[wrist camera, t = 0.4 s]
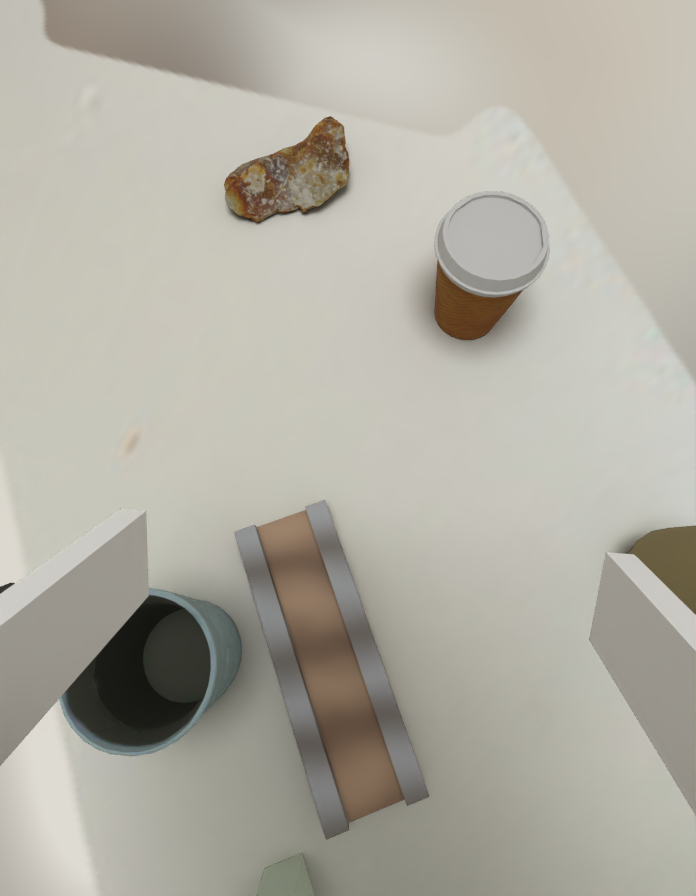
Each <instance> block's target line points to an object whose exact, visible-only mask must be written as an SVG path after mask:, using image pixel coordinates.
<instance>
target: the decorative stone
mask: <svg viewBox="0 0 696 896" xmlns="http://www.w3.org/2000/svg"><path fill="white" fill-rule="evenodd" d="M348 179H349V157H348V151H347V150H346V148H345V135H344V126H343V125H342V124H341V123H339V122H338V121H337V120H335V119H334V118H333V117H331V116H330V117H326V118H324V119H323V120H322V121H321V122H319V123H318V124H317V125H316V126H315V127H314V128H313V130H312V131H311V133H310V134H309V136H308V137H307V138H306V139H305V140H304V141H302V142H300V143H298V144H297V145H295V146H292V147H288V148H284V149H282V150H280V151H278V152H276V153H274V154H271V155H268V156H265V157H261V158H258V159H255V160H252V161H250V162H247V163H245V164H242V165H241V166H239V167H238V168H237V169H236V170H235V171H233V172H232V173H230V174H229V176H228V177H227V178H226V180H225V184H224V187H225V190H226V196H225V199H226V202H227V205H228V207H229V208H230V209H231V210H232V211H234V212H235V213H236V214H237V215H239V216H244V217H246V218H251V219H252V220H254V221H255V222H261V221H262V220H264V219H265V218H266V217H268V216H271V215H273V214H275V213H277V212H289V211H292V210H296V209H298V208H300V209H301V212H306V211H307V210H309V209H311V208H314V207H318V206H320V205H322V204H323V203H324V202H325V201H326V200H328V199H329V198H330V197H331V196H332V195H333V194H334V193H335V192H336V191H338V190H339V189H341V188H343V187H344V186H345V185H346V184H347V182H348Z"/></svg>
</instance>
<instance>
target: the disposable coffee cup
mask: <svg viewBox="0 0 696 896" xmlns="http://www.w3.org/2000/svg"><path fill="white" fill-rule="evenodd" d="M434 247H435V253H436V256H437V259H438V263H437V281H436V297H435V318H436V321H437V323H438V325H439V326H440V327H441V329H442V330H443V331H444V332H446V333H447V334H449V335H450V336H452V337H454V338H457V339H462V340H473V339H477V338H480V337H482V336H484V335H485V334H487V333H488V332H489V331H490V330H491V329H492V327H493V326H494V325H495V324H496V322H497V321H498V320H499V319H500V317H501V316H502V315H503V314H504V313H505V311H506V310H507V309H508V308H509V307H510V305H511V304H512V303H513V302H514V300H515V299H516V298H517V297H518V296H519V294H520V293H521V292H522V290H523V289H525V288H527V287H528V286H530V285H531V284H532V283H533V282H534V281H535V280H537V279H538V278H539V277H540V275H541V274H542V272H543V271H544V269H545V267H546V265H547V262H548V259H549V252H550V249H549V234H548V229H547V226H546V223H545V221H544V219H543V218H542V216H541V215H540V213H539V212H538V211H537V210H536V209H535V208H534V207H533V206H532V205H531V204H529V203H528V202H526V201H525V200H523V199H522V198H519V197H517V196H515V195H513V194H509V193H504V192H498V191H485V192H480V193H475V194H472V195H470V196H467V197H465V198H464V199H462V200H460V201H459V202H458V203H457V204H455V205H454V206H453V208H452V209H451V210H450V211H449V212H448V213H447V214H445V216H444V217H443V218H442V220H441V221H440V223H439V225H438V227H437V230H436V234H435V245H434Z"/></svg>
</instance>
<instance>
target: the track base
mask: <svg viewBox="0 0 696 896" xmlns="http://www.w3.org/2000/svg"><path fill="white" fill-rule="evenodd" d="M305 508H306V510H305V511H302V512H299V513H297V514H294V515H291V516H288V517H285V518H282V519H280V520H277V521H274V522H271V523H268V524H265V525H263V526H260V527H256V526H255V525H253V526H250V527H247V528H244V529H241V530H238V531H236V532H234V533H235V536H236V540H237V543H238V546H239V550H240V553H241V556H242V560H243V563H244V566H245V570H246V573H247V576H248V580H249V583H250V586H251V590H252V593H253V597H254V600H255V603H256V607H257V610H258V613H259V617H260V620H261V623H262V627H263V630H264V633H265V637H266V640H267V643H268V647H269V650H270V653H271V657H272V660H273V664H274V667H275V670H276V674H277V677H278V680H279V684H280V687H281V690H282V694H283V697H284V700H285V704H286V707H287V710H288V714H289V717H290V721H291V724H292V727H293V731H294V734H295V737H296V741H297V744H298V747H299V751H300V754H301V757H302V761H303V764H304V767H305V771H306V774H307V778H308V781H309V784H310V788H311V791H312V794H313V798H314V801H315V804H316V808H317V811H318V814H319V818H320V821H321V824H322V828H323V831H324V834H325V838H326V839H329V838H331V837H334V836H336V835H338V834H341V833H343V832H346V831H348V830H349V822H351V821H354V820H356V819H358V818H361V817H363V816H366V815H368V814H371V813H373V812H375V811H378V810H380V809H383V808H385V807H387V806H390V805H392V804H395V803H397V802H399V801H402V800H404V799H405V802H406V804H407V806H408V805H410V804H413V803H415V802H418V801H420V800H422V799H425V798H427V797H429V794H428V791H427V789H426V786H425V783H424V780H423V777H422V774H421V772H420V769H419V766H418V763H417V760H416V757H415V755H414V752H413V749H412V746H411V743H410V740H409V738H408V735H407V732H406V729H405V726H404V723H403V720H402V718H401V715H400V712H399V709H398V706H397V703H396V701H395V698H394V695H393V692H392V689H391V686H390V684H389V681H388V678H387V675H386V672H385V669H384V667H383V664H382V661H381V658H380V655H379V652H378V650H377V647H376V644H375V641H374V638H373V635H372V633H371V630H370V627H369V624H368V621H367V618H366V615H365V613H364V610H363V607H362V604H361V601H360V598H359V596H358V593H357V590H356V587H355V584H354V581H353V579H352V576H351V573H350V570H349V567H348V564H347V562H346V559H345V556H344V553H343V550H342V547H341V545H340V542H339V539H338V536H337V533H336V530H335V528H334V525H333V522H332V519H331V516H330V513H329V511H328V508H327V505H326V502H325V500H323V501H320V502H318V503H315V504H312V505H309V506H306V507H305Z"/></svg>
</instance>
